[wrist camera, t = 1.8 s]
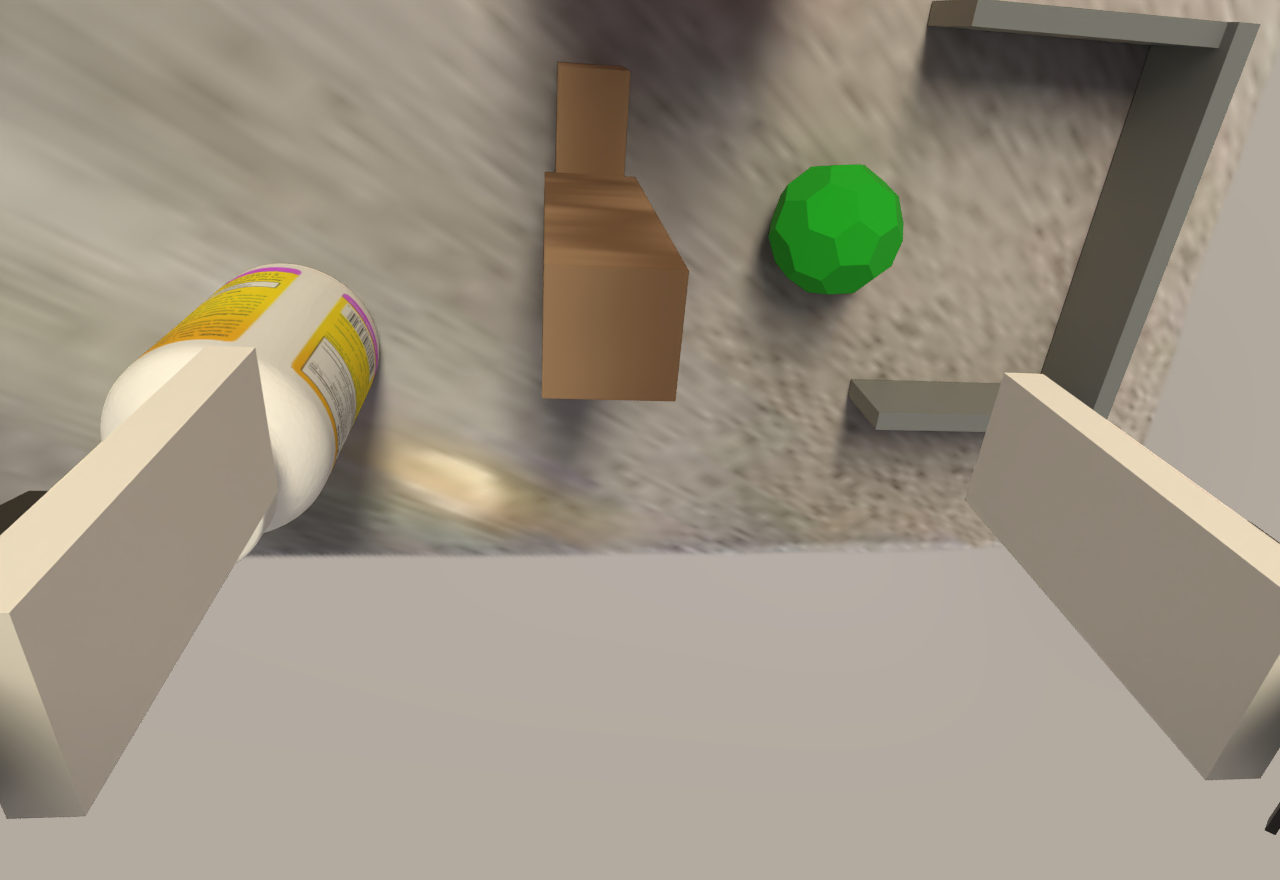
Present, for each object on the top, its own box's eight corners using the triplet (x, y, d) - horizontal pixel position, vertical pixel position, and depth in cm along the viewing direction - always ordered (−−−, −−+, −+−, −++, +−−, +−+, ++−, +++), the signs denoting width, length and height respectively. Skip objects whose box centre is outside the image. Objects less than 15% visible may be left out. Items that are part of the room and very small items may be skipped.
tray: (847, 395, 36) (879, 435, 33) (932, 1, 29) (985, -2, 26) (1047, 400, 38) (1099, 439, 34) (1177, 23, 30) (1260, 24, 27)
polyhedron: (733, 232, 32) (761, 263, 28) (810, 127, 31) (851, 143, 27) (822, 296, 34) (861, 335, 30) (899, 200, 33) (952, 226, 28)
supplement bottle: (186, 358, 32) (-5, 537, 21) (256, 225, 30) (85, 346, 19) (338, 437, 35) (238, 636, 24) (413, 319, 33) (343, 476, 21)
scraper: (542, 321, 33) (539, 518, 20) (546, 60, 29) (547, 94, 16) (617, 324, 34) (662, 519, 21) (633, 67, 29) (706, 106, 16)
